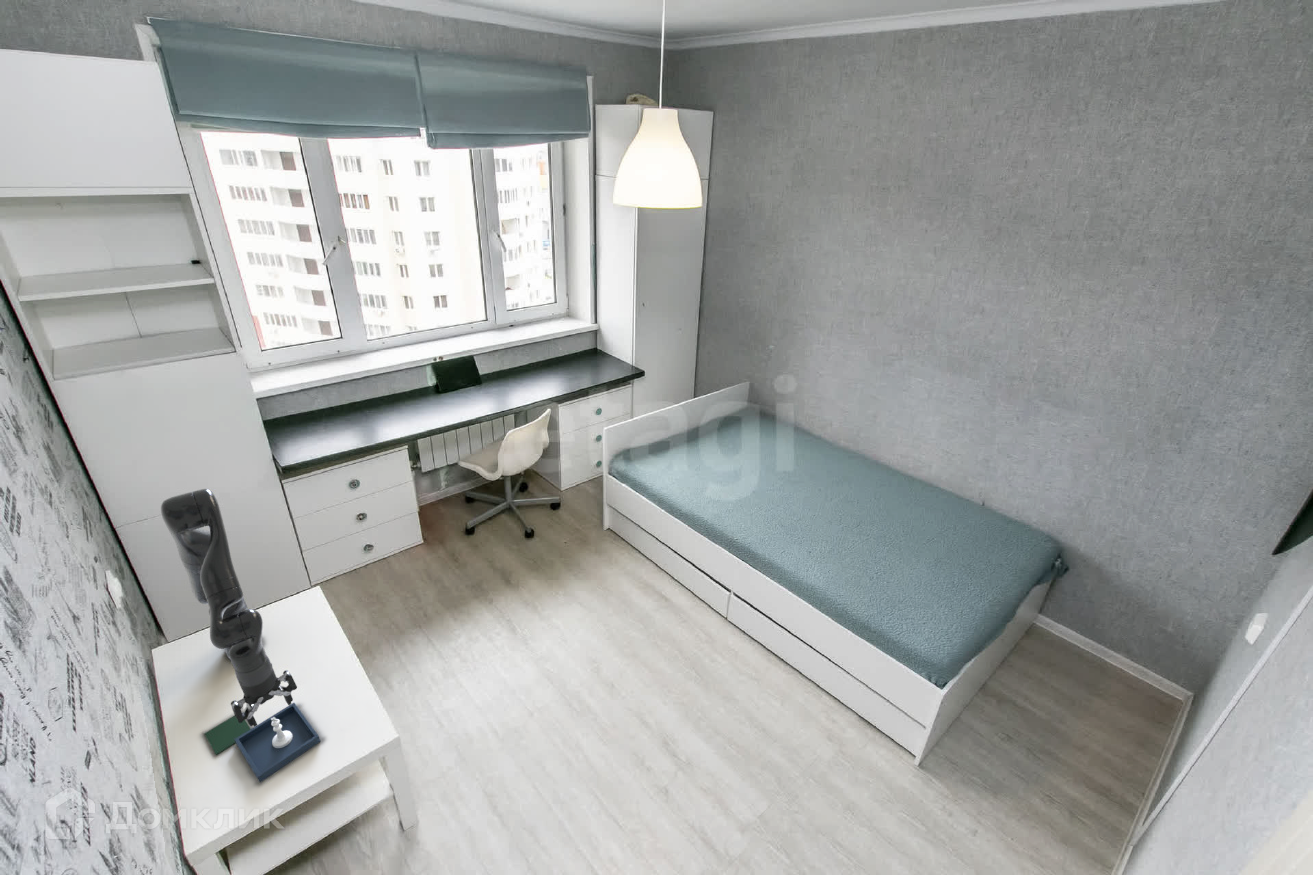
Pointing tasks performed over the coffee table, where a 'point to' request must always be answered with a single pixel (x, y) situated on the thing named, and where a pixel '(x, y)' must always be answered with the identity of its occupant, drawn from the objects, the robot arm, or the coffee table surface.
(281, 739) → the chess piece
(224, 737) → the pad
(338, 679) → the coffee table surface
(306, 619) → the coffee table surface
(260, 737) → the tray
